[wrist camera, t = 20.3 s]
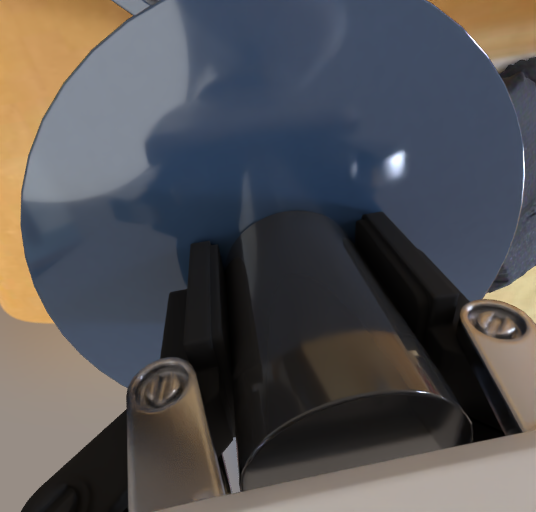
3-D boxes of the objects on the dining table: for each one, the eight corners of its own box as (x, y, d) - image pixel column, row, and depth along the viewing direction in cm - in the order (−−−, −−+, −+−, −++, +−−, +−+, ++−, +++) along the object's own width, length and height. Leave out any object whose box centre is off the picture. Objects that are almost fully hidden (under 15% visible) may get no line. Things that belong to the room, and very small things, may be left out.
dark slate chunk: (421, 305, 42) (444, 334, 38) (378, 123, 30) (405, 137, 26) (553, 251, 40) (591, 275, 36) (562, 38, 29) (620, 40, 25)
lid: (-90, 17, 8) (-1105, -7, 2) (565, -67, 8) (1395, -277, 3) (131, 423, 16) (84, 668, 10) (457, 359, 16) (600, 549, 11)
